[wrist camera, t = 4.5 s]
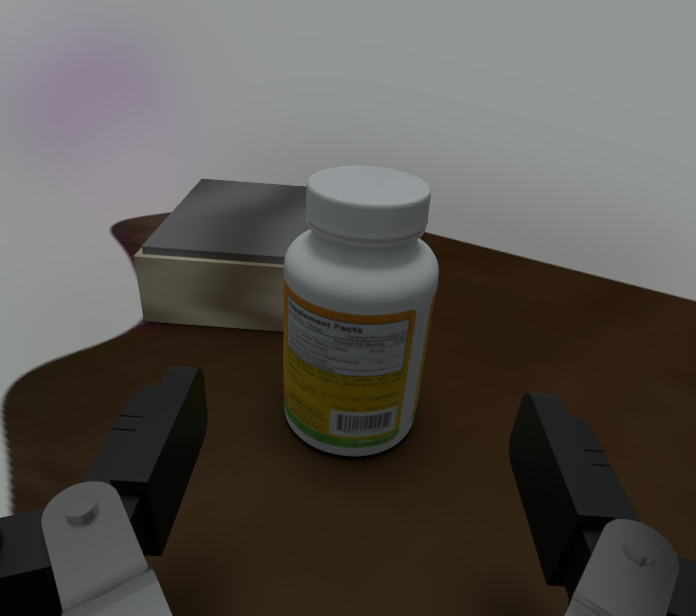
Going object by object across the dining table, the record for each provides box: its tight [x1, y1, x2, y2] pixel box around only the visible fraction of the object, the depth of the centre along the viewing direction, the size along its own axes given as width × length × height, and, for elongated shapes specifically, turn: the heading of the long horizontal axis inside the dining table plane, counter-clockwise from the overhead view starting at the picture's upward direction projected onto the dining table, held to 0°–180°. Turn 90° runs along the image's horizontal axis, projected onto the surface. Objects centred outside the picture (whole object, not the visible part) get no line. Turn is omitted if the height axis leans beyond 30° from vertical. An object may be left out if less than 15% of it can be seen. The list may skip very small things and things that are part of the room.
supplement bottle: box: [284, 166, 439, 456], centre depth 19 cm, size 5×5×10 cm
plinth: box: [134, 179, 310, 332], centre depth 30 cm, size 11×11×4 cm
